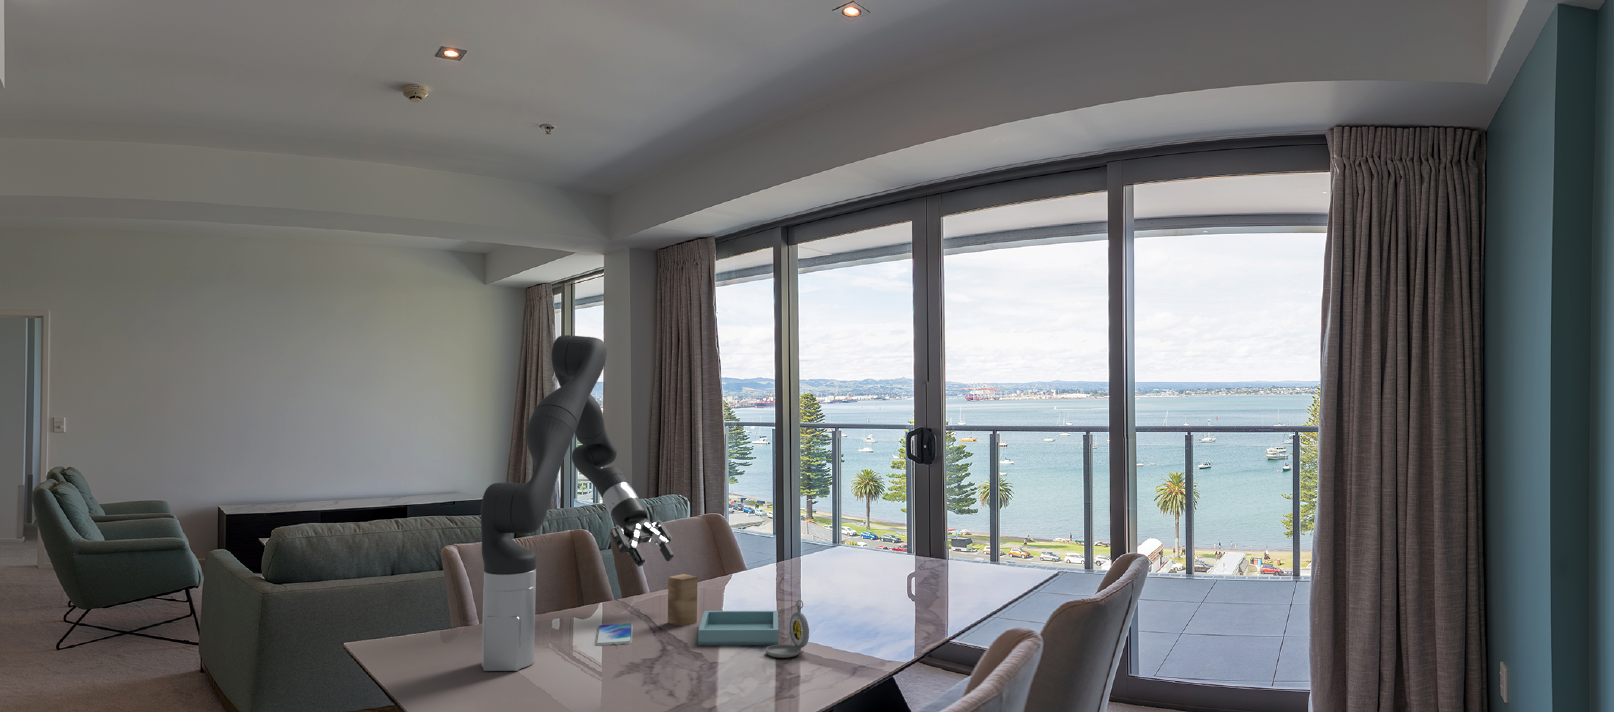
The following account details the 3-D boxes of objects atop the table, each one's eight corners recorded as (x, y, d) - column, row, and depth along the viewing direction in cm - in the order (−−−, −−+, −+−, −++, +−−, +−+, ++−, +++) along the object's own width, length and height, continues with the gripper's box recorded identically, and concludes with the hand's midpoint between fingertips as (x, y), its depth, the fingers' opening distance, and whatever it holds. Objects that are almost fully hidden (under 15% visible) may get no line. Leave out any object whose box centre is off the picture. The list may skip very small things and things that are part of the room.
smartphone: (595, 643, 175) (598, 624, 189) (595, 648, 175) (598, 628, 189) (632, 641, 176) (632, 622, 191) (632, 645, 176) (632, 626, 191)
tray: (778, 644, 176) (778, 629, 176) (698, 645, 175) (698, 630, 175) (777, 624, 192) (777, 610, 192) (704, 624, 191) (704, 610, 191)
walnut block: (667, 622, 193) (668, 576, 193) (682, 619, 196) (683, 573, 197) (681, 626, 190) (682, 579, 190) (696, 622, 193) (697, 576, 194)
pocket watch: (759, 656, 168) (759, 603, 169) (780, 645, 176) (781, 595, 176) (796, 662, 164) (797, 608, 165) (817, 651, 172) (817, 599, 172)
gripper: (607, 498, 200) (640, 555, 192) (655, 493, 211) (687, 547, 203) (592, 519, 203) (624, 576, 195) (640, 513, 214) (671, 567, 206)
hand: (656, 561), depth 199 cm, fingers open, 8 cm apart
